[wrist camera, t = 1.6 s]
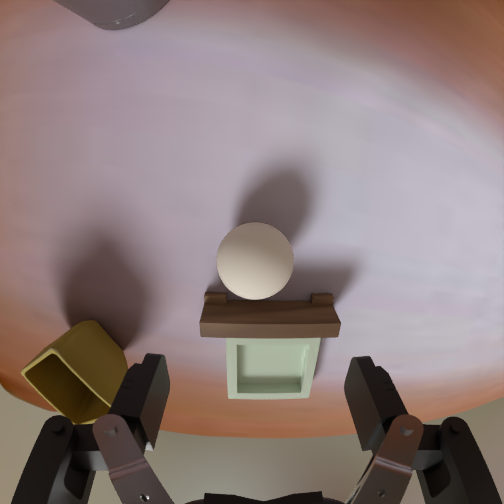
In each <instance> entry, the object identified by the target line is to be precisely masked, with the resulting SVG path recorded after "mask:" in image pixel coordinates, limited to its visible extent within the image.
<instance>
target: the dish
mask: <svg viewBox="0 0 504 504" xmlns="http://www.w3.org/2000/svg"><path fill="white" fill-rule="evenodd" d="M320 340H321V338H291V339H255V338H226V359H227V384H228V399H295V398H309V394H310V389H311V385H312V380H313V375H314V371H315V366H316V361H317V356H318V351H319V345H320Z"/></svg>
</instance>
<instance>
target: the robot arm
mask: <svg viewBox="0 0 504 504" xmlns="http://www.w3.org/2000/svg"><path fill="white" fill-rule="evenodd" d="M53 1H55V2H57V3H58V4H60V5H62V6H64V7H65V8H67V9H69V10H71V11H72V12H74V13H76V14H77V15H79V16H81V17H82V18H84V19H86V20H87V21H89V22H91V23H92V24H94V25H95V26H97V27H99V28H102V29H105V30H119V29H125V28H128V27H132V26H135V25H137V24H139V23H141V22H143V21H145V20H146V19H148V18H150V17H151V16H153V15H154V14H155V13H156V12H158V11H159V10H160V9H161V8H162V7H163V6H164V5H165V4H166V3H167V2H168V1H169V0H53ZM169 390H170V379H169V374H168V369H167V364H166V359H165V356H164V355H161V354H151V353H147V354H146V355H145V357H144V360H143V362H142V364H137V363H135V364H134V365H133V366H132V367H130V368H129V369H128V370H127V372H126V374H125V376H124V378H123V381H122V383H121V385H120V388H119V389H118V392H117V394H116V396H115V398H114V400H113V403H112V405H111V407H110V410H109V412H108V414H107V415H103V416H101V417H99V418H98V419H97V420H96V421H95V422H94V423H92V424H73V423H72V421H71V420H70V419H69V418H68V417H66V416H62V415H57V416H53V417H51V418H49V419H48V420H47V421H46V422H45V424H44V425H43V427H42V429H41V432H40V434H39V436H38V438H37V440H36V442H35V445H34V447H33V449H32V451H31V454H30V456H29V458H28V461H27V463H26V466H25V468H24V470H23V473H22V475H21V478H20V480H19V483H18V486H17V488H16V491H15V494H14V496H13V499H12V502H11V504H87V503H88V499H89V495H90V492H91V488H92V484H93V480H94V477H95V473H96V471H106V470H107V471H108V470H109V477H110V479H111V482H112V484H113V486H114V488H115V490H116V492H117V494H118V496H119V498H120V500H121V502H122V504H174V502H173V501H172V499H171V498H170V496H169V495H168V493H167V492H166V490H165V489H164V487H163V486H162V484H161V483H160V481H159V480H158V478H157V476H156V475H155V473H154V472H153V470H152V468H151V467H150V465H149V463H148V462H147V460H146V459H145V457H144V452H145V450H151V451H153V450H154V447H155V442H156V439H157V435H158V431H159V428H160V424H161V420H162V417H163V413H164V409H165V406H166V402H167V398H168V395H169ZM344 391H345V396H346V399H347V402H348V405H349V409H350V412H351V415H352V418H353V421H354V424H355V428H356V431H357V434H358V438H359V440H360V444H361V447H362V451H366V450H372V453H373V455H372V457H371V459H370V461H369V463H368V464H367V466H366V468H365V470H364V472H363V474H362V475H361V477H360V479H359V481H358V482H357V484H356V486H355V487H354V489H353V491H352V492H351V494H350V495H349V497H348V498H347V500H346V501H345V503H343V502H340V501H338V500H334V499H331V498H324V497H323V496H322V491H319V492H309V493H298V494H291V495H288V496H284V497H280V498H277V499H272V500H268V501H259V500H254V499H249V498H245V497H241V496H236V495H227V494H211V493H205V494H204V499H200V500H196V501H191V502H188V503H185V504H400V503H401V500H402V498H403V496H404V493H405V491H406V489H407V486H408V484H409V481H410V479H411V476H412V473H413V470H416V473H417V476H418V479H419V482H420V486H421V489H422V493H423V496H424V500H425V503H426V504H502V501H501V499H500V496H499V493H498V491H497V488H496V486H495V483H494V481H493V479H492V476H491V474H490V472H489V469H488V467H487V465H486V462H485V460H484V458H483V456H482V453H481V451H480V449H479V447H478V445H477V443H476V441H475V439H474V437H473V435H472V433H471V431H470V429H469V427H468V425H467V423H466V422H465V421H464V420H463V419H461V418H458V417H449V418H446V419H445V420H444V421H443V422H442V424H441V425H426V424H422V422H421V421H420V420H419V419H418V418H417V417H415V416H412V415H409V414H408V412H407V410H406V408H405V406H404V404H403V402H402V400H401V398H400V396H399V394H398V392H397V390H396V388H395V386H394V384H393V383H392V380H391V378H390V376H389V374H388V372H386V371H385V370H384V369H383V368H382V367H381V366H376V367H375V365H374V363H373V361H372V359H371V357H370V356H362V357H353V358H352V360H351V363H350V366H349V369H348V373H347V376H346V380H345V384H344Z"/></svg>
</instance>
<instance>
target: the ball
mask: <svg viewBox="0 0 504 504" xmlns="http://www.w3.org/2000/svg"><path fill="white" fill-rule="evenodd" d="M293 265H294V257H293V251H292V248H291V245H290V243H289V242H288V240H287V238H286V237H285V236H284V235H283V234H282V233H281V232H280V231H279V230H278V229H276V228H275V227H273V226H271V225H268V224H265V223H259V222H251V223H245V224H242V225H240V226H238V227H236V228H234V229H233V230H231V231H230V232H229V233H228V234H227V235H226V236H225V237H224V239H223V240H222V242H221V244H220V246H219V249H218V252H217V269H218V273H219V276H220V278H221V280H222V282H223V283H224V284H225V286H226V287H227V288H228V289H229V290H230V291H232V292H233V293H235V294H236V295H238V296H240V297H243V298H246V299H253V300H257V299H264V298H268V297H270V296H272V295H274V294H276V293H277V292H279V291H280V290H281V289H282V288H283V287H284V286H285V285H286V284H287V282H288V280H289V279H290V276H291V274H292V271H293Z"/></svg>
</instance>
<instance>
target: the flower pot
mask: <svg viewBox="0 0 504 504" xmlns="http://www.w3.org/2000/svg"><path fill="white" fill-rule="evenodd" d="M127 370H128V366H127V361H126V358H125V355H124V352H123V350H122V349H121V348H120V347H119V346H118V345H117V344H116V343H115V342H114V341H113V339H112V338H111V337H110V336H109V335H108V334H107V333H106V332H105V330H104V329H103V328H102V327H101V326H100V324H99V323H98V322H97V321H95V320H86V321H83V322H80V323H78V324H77V325H75V326H74V327H72V328H71V329H70V330H68V331H67V332H66V333H65V334H63V335H62V336H61V337H59V338H58V339H57V340H55V341H54V342H53V343H51V344H50V345H48V346H47V347H46V348H44V349H43V350H42V351H41V352H40V353H39V354H38V355H37V356H36V357H35V358H34V359H33V360H32V361H31V362H29V363H28V364H27V365H26V366H25V367H24V368H23V369H22V370H21V374H22V375H23V376H24V377H25V379H26V380H27V381H28V382H29V383H30V384H31V385H32V386H33V387H34V388H35V390H36V391H37V392H38V393H39V394H40V395H41V396H42V397H43V398H44V399H45V400H47V401H48V402H49V403H50V404H51V405H52V406H53V407H54V408H55V409H56V410H57V411H58V412H59V413H61V414H62V415H63V416H66V417H68V418H69V419H70V420H71V421H72V423H73V424H90V423H94V422H95V421H96V420H97V419H98V418H99V417H101V416H103V415H107V414H108V412H109V410H110V407H111V405H112V403H113V400H114V398H115V396H116V394H117V392H118V389H119V388H120V385H121V383H122V381H123V378H124V376H125V374H126V372H127Z"/></svg>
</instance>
